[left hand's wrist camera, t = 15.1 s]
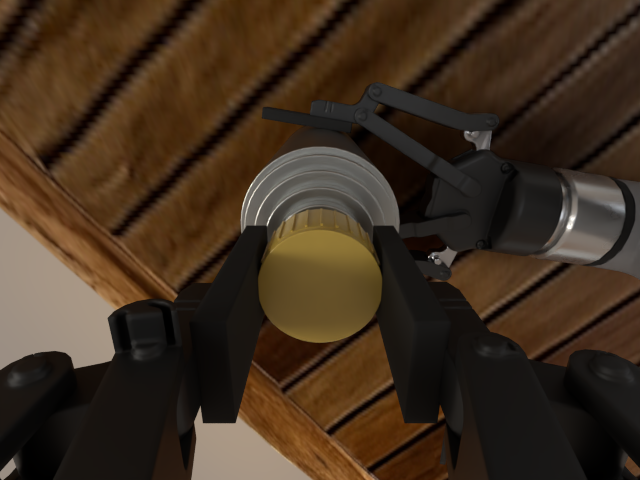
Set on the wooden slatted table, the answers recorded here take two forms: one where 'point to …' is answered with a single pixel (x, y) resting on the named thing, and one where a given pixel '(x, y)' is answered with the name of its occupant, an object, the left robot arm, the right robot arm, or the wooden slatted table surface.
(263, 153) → the wooden slatted table surface
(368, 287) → the cap
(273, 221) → the bottle
